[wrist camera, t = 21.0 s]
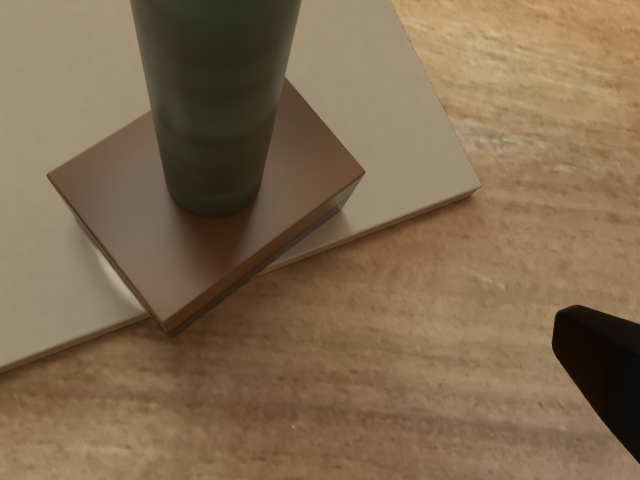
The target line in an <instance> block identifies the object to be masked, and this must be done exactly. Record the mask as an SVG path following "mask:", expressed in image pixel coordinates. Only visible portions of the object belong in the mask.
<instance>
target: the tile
mask: <svg viewBox="0 0 640 480" xmlns="http://www.w3.org/2000/svg"><path fill="white" fill-rule="evenodd" d="M285 77H286V78H287V79H288V80H289V82H290V83H291V84H292V85H293V86H294V88H295V89H296V90H297V91H298V92H299V93H300V95H301V96H302V97H303V98H304V99H305V100H306V102H307V103H308V104H309V105H310V106H311V108H312V109H313V110H314V111H315V112H316V113H317V115H318V116H319V117H320V118H321V119H322V121H323V122H324V123H325V124H326V125H327V126H328V128H329V129H330V130H331V131H332V132H333V133H334V135H335V136H336V137H337V138H338V139H339V141H340V142H341V143H342V144H343V145H344V146H345V148H346V149H347V150H348V151H349V152H350V154H351V155H352V156H353V157H354V158H355V159H356V161H357V162H358V163H359V164H360V165H361V167H362V168H363V169H364V170H365V172H366V173H365V175H364V176H363V178H362V179H361V181H360V182H359V184H358V185H357V187H356V188H355V190H354V191H353V193H352V194H351V196H350V197H349V199H348V201H347V202H346V204H345V205H344V207H343V208H342V210H341V211H339V212H338V213H337V214H335V215H334V216H333V217H332V218H330V219H329V220H328V221H326V222H325V223H324V224H322V225H321V226H320V227H318V228H317V229H316V230H314V231H313V232H312V233H311V234H309V235H308V236H307V237H305V238H304V239H303V240H301V241H300V242H299V243H297V244H296V245H295V246H294V247H292V248H291V249H290V250H288V251H287V252H286V253H284V254H283V255H282V256H280V257H279V258H278V259H276V260H275V261H274V262H273V263H271V264H270V265H269V266H267V267H266V268H265V269H263V270H262V271H261V272H259V273H258V274H257V275H255V276H254V277H257V276H259V275H262V274H265V273H267V272H270V271H273V270H275V269H278V268H280V267H283V266H286V265H288V264H291V263H294V262H296V261H299V260H302V259H304V258H307V257H310V256H312V255H315V254H317V253H320V252H323V251H325V250H328V249H331V248H333V247H336V246H339V245H341V244H344V243H347V242H349V241H352V240H355V239H357V238H360V237H362V236H365V235H368V234H370V233H373V232H376V231H378V230H381V229H384V228H386V227H389V226H392V225H394V224H397V223H399V222H402V221H405V220H407V219H410V218H413V217H415V216H418V215H421V214H423V213H426V212H429V211H431V210H434V209H436V208H439V207H442V206H444V205H447V204H450V203H452V202H455V201H458V200H460V199H463V198H466V197H468V196H471V195H472V194H473V193H474V192H476V191H477V190H478V189H479V188H480V187H481V183H480V181H479V179H478V177H477V175H476V173H475V171H474V169H473V167H472V165H471V163H470V161H469V159H468V157H467V155H466V153H465V151H464V149H463V147H462V145H461V143H460V141H459V138H458V136H457V134H456V132H455V130H454V128H453V126H452V124H451V122H450V120H449V118H448V116H447V114H446V112H445V110H444V108H443V106H442V104H441V102H440V100H439V98H438V96H437V94H436V92H435V90H434V88H433V86H432V84H431V82H430V80H429V78H428V76H427V74H426V72H425V70H424V68H423V66H422V64H421V62H420V60H419V58H418V56H417V54H416V52H415V50H414V48H413V46H412V44H411V42H410V40H409V38H408V36H407V34H406V32H405V29H404V27H403V25H402V23H401V21H400V19H399V17H398V15H397V13H396V11H395V9H394V7H393V5H392V3H391V1H390V0H302V2H301V6H300V11H299V15H298V20H297V24H296V28H295V33H294V37H293V42H292V46H291V51H290V55H289V60H288V64H287V69H286V73H285ZM150 110H151V106H150V101H149V96H148V91H147V85H146V80H145V75H144V70H143V65H142V60H141V55H140V50H139V45H138V40H137V35H136V30H135V25H134V19H133V14H132V9H131V4H130V0H0V373H3V372H5V371H8V370H11V369H13V368H16V367H19V366H21V365H24V364H27V363H29V362H32V361H35V360H37V359H40V358H42V357H45V356H48V355H50V354H53V353H56V352H58V351H61V350H64V349H66V348H69V347H72V346H74V345H77V344H79V343H82V342H85V341H87V340H90V339H93V338H95V337H98V336H101V335H103V334H106V333H109V332H111V331H114V330H116V329H119V328H122V327H124V326H127V325H130V324H132V323H135V322H138V321H140V320H143V319H146V318H148V317H151V315H150V313H149V312H148V311H147V309H146V308H145V307H144V306H143V304H142V303H141V302H140V300H139V299H138V298H137V297H136V295H135V294H134V293H133V291H132V290H131V289H130V288H129V286H128V285H127V284H126V282H125V281H124V280H123V278H122V277H121V276H120V275H119V273H118V272H117V271H116V269H115V268H114V267H113V266H112V264H111V263H110V262H109V260H108V259H107V258H106V257H105V255H104V254H103V253H102V251H101V250H100V249H99V247H98V246H97V245H96V244H95V242H94V241H93V240H92V238H91V237H90V236H89V235H88V233H87V232H86V231H85V229H84V228H83V227H82V226H81V224H80V223H79V222H78V220H77V219H76V218H75V217H74V215H73V214H72V212H71V211H70V210H69V208H68V207H67V205H66V204H65V202H64V201H63V199H62V198H61V197H60V195H59V194H58V192H57V191H56V190H55V188H54V187H53V185H52V184H51V182H50V181H49V180H48V178H47V176H46V175H47V173H49V172H51V171H52V170H54V169H55V168H57V167H59V166H60V165H62V164H64V163H65V162H67V161H68V160H70V159H72V158H73V157H75V156H77V155H78V154H80V153H81V152H83V151H85V150H86V149H88V148H90V147H91V146H93V145H94V144H96V143H98V142H99V141H101V140H103V139H104V138H106V137H107V136H109V135H111V134H112V133H114V132H116V131H117V130H119V129H120V128H122V127H124V126H125V125H127V124H129V123H130V122H132V121H133V120H135V119H137V118H138V117H140V116H142V115H143V114H145V113H146V112H148V111H150ZM254 277H253V278H254Z"/></svg>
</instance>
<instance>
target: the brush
mask: <svg viewBox="0 0 640 480" xmlns="http://www.w3.org/2000/svg"><path fill="white" fill-rule="evenodd" d="M301 2H302V0H130V4H131V9H132V14H133V19H134V25H135V30H136V35H137V40H138V45H139V50H140V55H141V60H142V65H143V70H144V75H145V80H146V85H147V91H148V96H149V101H150V106H151V110H150V111H148V112H146V113H145V114H143V115H142V116H140V117H138V118H137V119H135V120H133V121H132V122H130V123H129V124H127V125H125V126H124V127H122V128H120V129H119V130H117V131H116V132H114V133H112V134H111V135H109V136H107V137H106V138H104V139H103V140H101V141H99V142H98V143H96V144H94V145H93V146H91V147H90V148H88V149H86V150H85V151H83V152H81V153H80V154H78V155H77V156H75V157H73V158H72V159H70V160H68V161H67V162H65V163H64V164H62V165H60V166H59V167H57V168H55V169H54V170H52V171H51V172H49V173H47V175H46V176H47V178H48V180H49V181H50V182H51V184H52V185H53V187H54V188H55V190H56V191H57V192H58V194H59V195H60V197H61V198H62V199H63V201H64V202H65V204H66V205H67V207H68V208H69V210H70V211H71V212H72V214H73V215H74V217H75V218H76V219H77V220H78V222H79V223H80V224H81V226H82V227H83V228H84V229H85V231H86V232H87V233H88V235H89V236H90V237H91V238H92V240H93V241H94V242H95V244H96V245H97V246H98V247H99V249H100V250H101V251H102V253H103V254H104V255H105V257H106V258H107V259H108V260H109V262H110V263H111V264H112V266H113V267H114V268H115V269H116V271H117V272H118V273H119V275H120V276H121V277H122V278H123V280H124V281H125V282H126V284H127V285H128V286H129V288H130V289H131V290H132V291H133V293H134V294H135V295H136V297H137V298H138V299H139V300H140V302H141V303H142V304H143V306H144V307H145V308H146V309H147V311H148V312H149V313H150V315H151V316H152V317H153V318H154V320H155V321H156V322H157V324H158V325H159V326H160V328H161V329H162V330H163V331H164V333H165V334H166V335H167V337H168V338H169V339H173V338H174V337H176V336H177V335H178V334H179V333H181V332H182V331H183V330H185V329H186V328H187V327H189V326H190V325H191V324H193V323H194V322H195V321H197V320H198V319H199V318H200V317H202V316H203V315H204V314H206V313H207V312H208V311H210V310H211V309H212V308H214V307H215V306H216V305H217V304H219V303H220V302H221V301H223V300H224V299H225V298H227V297H228V296H229V295H231V294H232V293H233V292H235V291H236V290H237V289H238V288H240V287H241V286H242V285H244V284H245V283H246V282H248V281H249V280H250V279H252V278H253V277H254V276H255V275H257V274H258V273H259V272H261V271H262V270H263V269H265V268H266V267H267V266H269V265H270V264H271V263H273V262H274V261H275V260H276V259H278V258H279V257H280V256H282V255H283V254H284V253H286V252H287V251H288V250H290V249H291V248H292V247H294V246H295V245H296V244H297V243H299V242H300V241H301V240H303V239H304V238H305V237H307V236H308V235H309V234H311V233H312V232H313V231H314V230H316V229H317V228H318V227H320V226H321V225H322V224H324V223H325V222H326V221H328V220H329V219H330V218H332V217H333V216H334V215H335V214H337V213H338V212H339V211H341V210H342V208H343V207H344V205H345V204H346V202H347V201H348V199H349V197H350V196H351V194H352V193H353V191H354V190H355V188H356V187H357V185H358V184H359V182H360V181H361V179H362V178H363V176H364V175H365V173H366V172H365V170H364V169H363V168H362V167H361V165H360V164H359V163H358V162H357V161H356V159H355V158H354V157H353V156H352V155H351V154H350V152H349V151H348V150H347V149H346V148H345V146H344V145H343V144H342V143H341V142H340V141H339V139H338V138H337V137H336V136H335V135H334V133H333V132H332V131H331V130H330V129H329V128H328V126H327V125H326V124H325V123H324V122H323V121H322V119H321V118H320V117H319V116H318V115H317V113H316V112H315V111H314V110H313V109H312V108H311V106H310V105H309V104H308V103H307V102H306V100H305V99H304V98H303V97H302V96H301V95H300V93H299V92H298V91H297V90H296V89H295V88H294V86H293V85H292V84H291V83H290V82H289V80H288V79H287V78H286V77H285V73H286V69H287V64H288V60H289V55H290V51H291V46H292V42H293V37H294V33H295V28H296V24H297V20H298V15H299V11H300V6H301Z"/></svg>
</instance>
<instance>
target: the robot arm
mask: <svg viewBox="0 0 640 480" xmlns="http://www.w3.org/2000/svg"><path fill="white" fill-rule="evenodd" d="M552 349H553V352H554V354H555V356H556V357H557V359H558V360H559V362H560V363H561V365H562V366H563V367H564V369H565V370H566V371H567V373H568V374H569V376H570V377H571V378H572V380H573V381H574V383H575V384H576V385H577V387H578V388H579V390H580V391H581V392H582V394H583V395H584V397H585V398H586V399H587V401H588V402H589V403H590V405H591V406H592V408H593V409H594V410H595V412H596V413H597V414H598V416H599V417H600V418H601V420H602V421H603V422H604V423H605V425H606V426H607V427H608V428H609V429H610V431H611V432H612V433H613V434H614V435H615V436H616V438H617V439H618V440H619V441H620V442H621V443H622V444H623V446H624V447H625V448H626V449H627V450H628V451H629V452H630V454H631V455H632V456H633V457H634V458H635V459H636V460H637V461H638V463H639V464H640V324H638V323H634V322H631V321H628V320H625V319H622V318H619V317H616V316H613V315H610V314H606V313H603V312H600V311H597V310H594V309H591V308H588V307H585V306H581V305H573V306H570V307H567V308H565V309H562V310H559V311H558V312H557V314H556V315H555V321H554V329H553V337H552Z"/></svg>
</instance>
